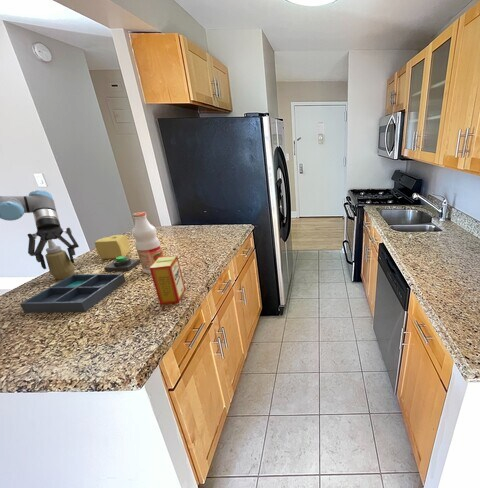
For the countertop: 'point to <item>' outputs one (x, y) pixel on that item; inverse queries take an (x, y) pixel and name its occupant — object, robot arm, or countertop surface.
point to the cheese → (112, 246)
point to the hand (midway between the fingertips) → (58, 264)
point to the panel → (122, 265)
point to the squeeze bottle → (58, 262)
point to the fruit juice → (146, 241)
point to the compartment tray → (74, 293)
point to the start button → (120, 258)
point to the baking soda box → (168, 279)
